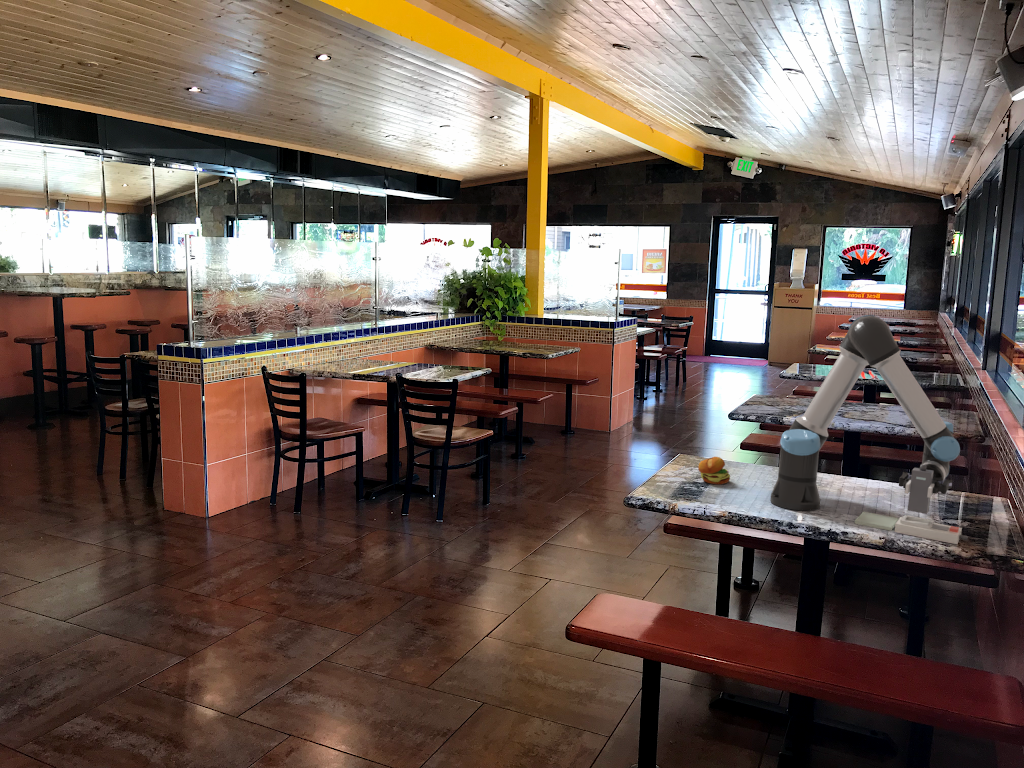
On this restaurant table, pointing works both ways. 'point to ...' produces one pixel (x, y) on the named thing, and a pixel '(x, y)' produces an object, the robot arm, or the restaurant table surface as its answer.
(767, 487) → the restaurant table surface
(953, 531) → the power strip
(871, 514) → the mat
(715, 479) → the cheeseburger
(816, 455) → the robot arm
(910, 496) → the block
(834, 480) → the restaurant table surface
